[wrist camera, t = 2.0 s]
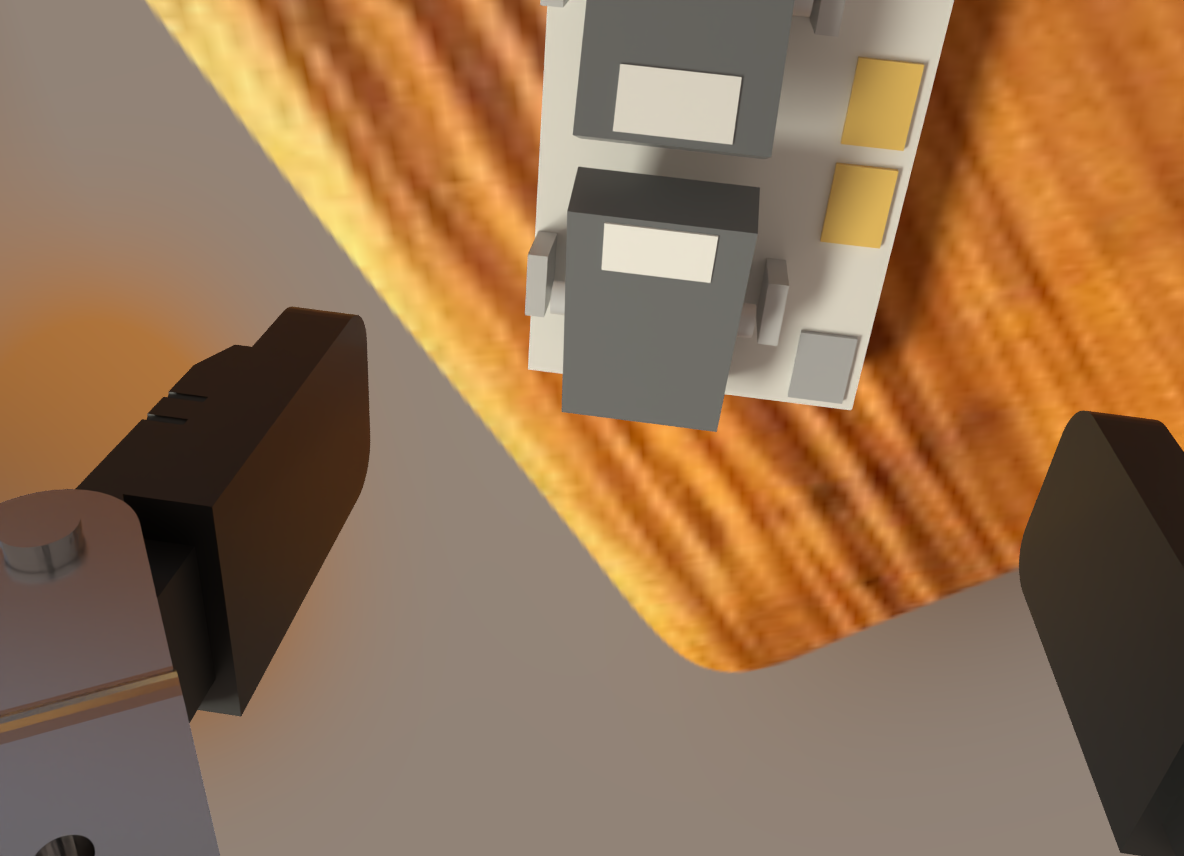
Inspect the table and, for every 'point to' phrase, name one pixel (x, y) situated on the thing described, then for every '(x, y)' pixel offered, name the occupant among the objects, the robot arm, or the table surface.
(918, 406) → the table surface
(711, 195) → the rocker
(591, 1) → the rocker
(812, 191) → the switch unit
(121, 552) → the robot arm
